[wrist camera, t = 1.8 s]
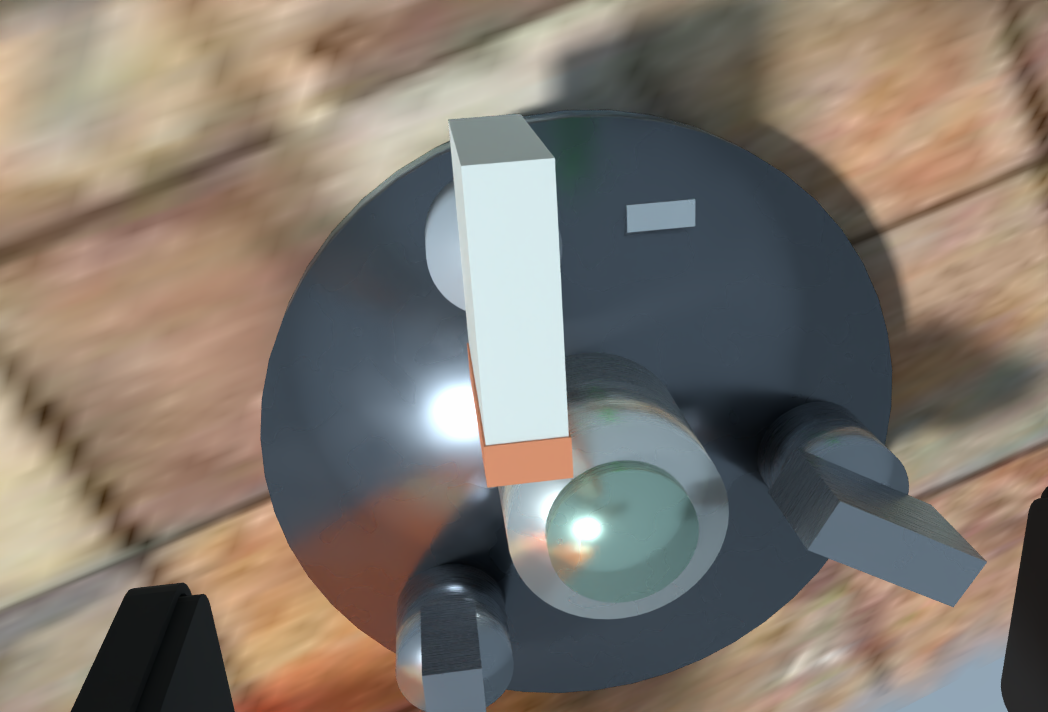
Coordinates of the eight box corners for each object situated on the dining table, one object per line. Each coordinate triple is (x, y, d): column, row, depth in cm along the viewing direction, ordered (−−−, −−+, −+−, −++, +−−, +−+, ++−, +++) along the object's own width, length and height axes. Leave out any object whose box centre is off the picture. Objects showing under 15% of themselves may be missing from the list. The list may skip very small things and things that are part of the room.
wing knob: (411, 111, 25) (413, 170, 18) (545, 100, 26) (601, 154, 18) (436, 353, 28) (448, 491, 21) (557, 341, 28) (611, 473, 21)
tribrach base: (212, 138, 27) (144, 199, 20) (896, 83, 28) (1055, 120, 21) (317, 696, 34) (294, 880, 27) (849, 627, 36) (955, 784, 29)
